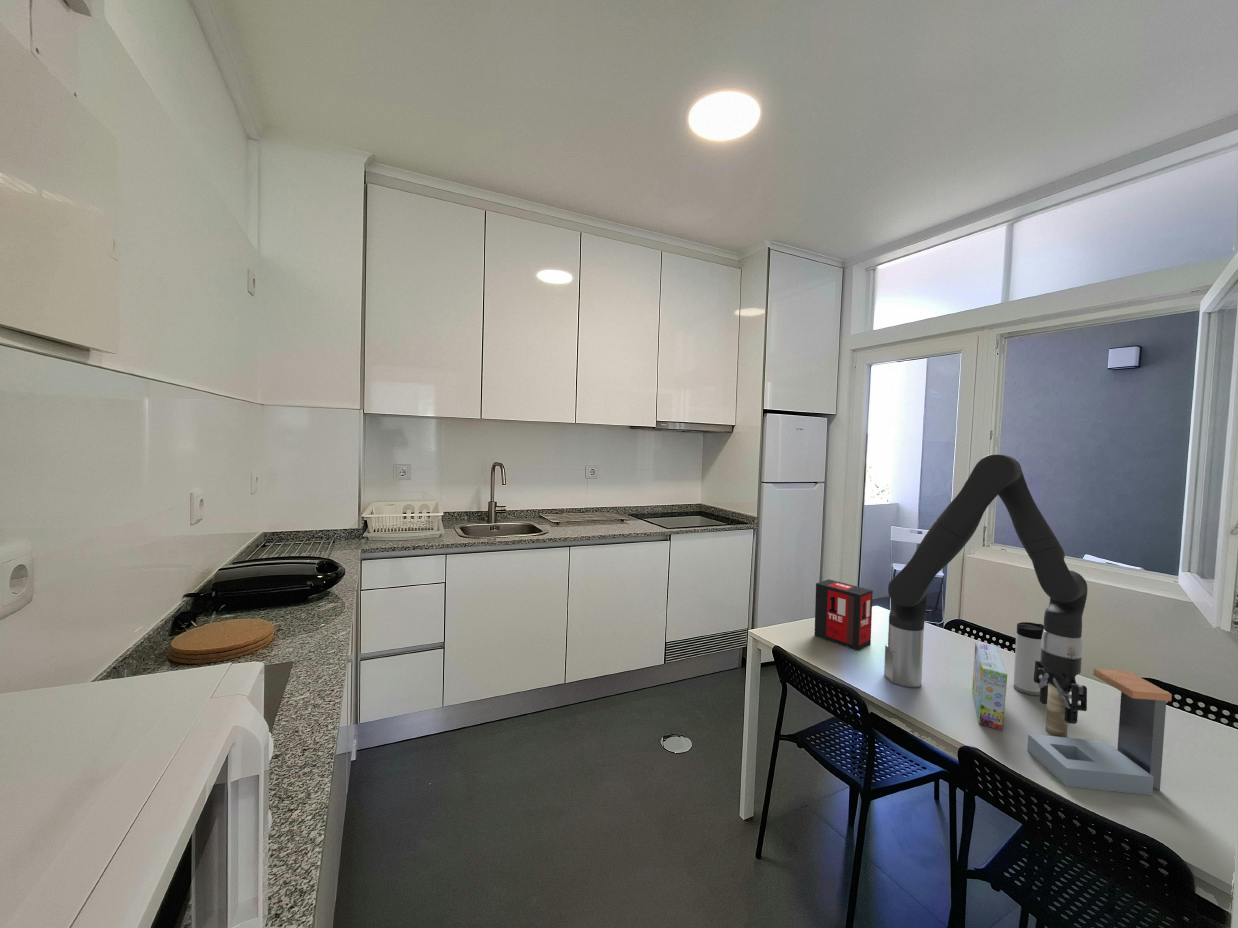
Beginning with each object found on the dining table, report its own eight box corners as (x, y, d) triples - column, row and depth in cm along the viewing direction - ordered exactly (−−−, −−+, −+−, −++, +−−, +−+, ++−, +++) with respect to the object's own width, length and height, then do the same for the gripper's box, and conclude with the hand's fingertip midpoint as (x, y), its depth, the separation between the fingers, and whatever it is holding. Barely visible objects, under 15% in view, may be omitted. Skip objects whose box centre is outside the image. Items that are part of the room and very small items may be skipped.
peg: (1053, 736, 120) (1055, 689, 119) (1041, 726, 124) (1044, 681, 123) (1071, 738, 119) (1074, 691, 119) (1059, 728, 123) (1061, 683, 122)
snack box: (1005, 732, 122) (1008, 674, 121) (978, 724, 125) (980, 668, 124) (994, 694, 140) (997, 644, 139) (970, 689, 143) (973, 639, 142)
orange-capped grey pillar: (1126, 789, 102) (1132, 691, 101) (1088, 758, 112) (1093, 668, 110) (1164, 793, 101) (1171, 694, 99) (1122, 761, 110) (1128, 671, 109)
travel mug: (1047, 696, 138) (1051, 629, 137) (1021, 694, 140) (1025, 627, 139) (1033, 685, 144) (1037, 621, 143) (1008, 683, 146) (1012, 619, 145)
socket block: (1065, 785, 103) (1066, 767, 102) (1027, 749, 114) (1028, 733, 114) (1152, 795, 100) (1153, 776, 100) (1104, 757, 112) (1105, 740, 112)
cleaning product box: (870, 644, 173) (872, 590, 172) (858, 651, 167) (860, 595, 166) (827, 629, 186) (828, 579, 185) (814, 635, 180) (816, 583, 179)
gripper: (1025, 637, 128) (1021, 696, 129) (1065, 662, 114) (1061, 728, 115) (1056, 639, 127) (1053, 699, 128) (1101, 664, 113) (1097, 731, 114)
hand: (1057, 712), depth 121 cm, fingers open, 8 cm apart
